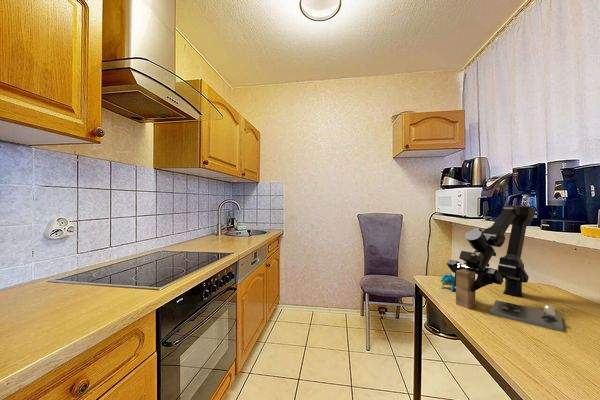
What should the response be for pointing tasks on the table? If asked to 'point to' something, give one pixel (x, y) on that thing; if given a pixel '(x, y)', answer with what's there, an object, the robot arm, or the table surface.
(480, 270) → the robot arm
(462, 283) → the post
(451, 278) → the teal bumpy cluster
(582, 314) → the table surface
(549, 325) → the bolt plate
